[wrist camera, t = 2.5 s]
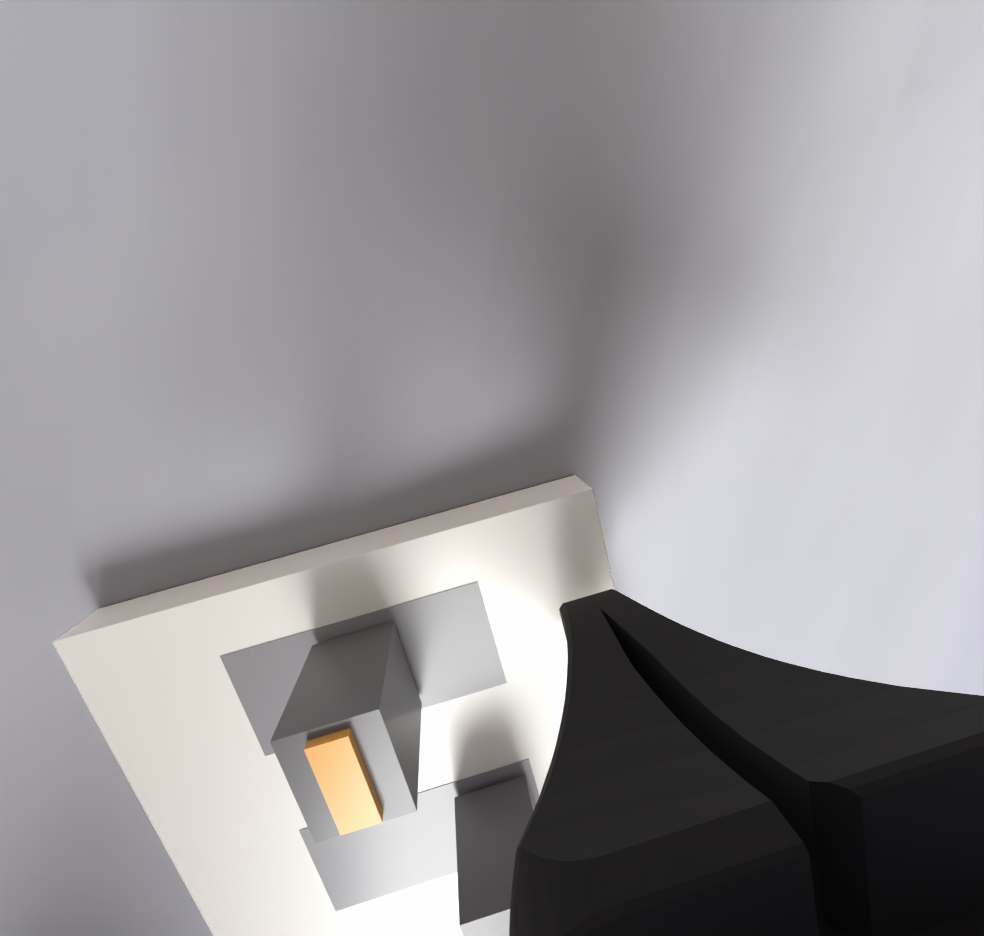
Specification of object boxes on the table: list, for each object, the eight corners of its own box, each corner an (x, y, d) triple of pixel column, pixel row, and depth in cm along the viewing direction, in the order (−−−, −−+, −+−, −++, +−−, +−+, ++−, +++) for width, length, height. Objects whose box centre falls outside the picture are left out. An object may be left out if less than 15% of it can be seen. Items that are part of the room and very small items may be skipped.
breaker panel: (317, 1038, 16) (270, 1299, 12) (97, 609, 12) (-103, 753, 8) (673, 918, 17) (759, 1121, 12) (575, 474, 13) (650, 535, 8)
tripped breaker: (344, 726, 12) (312, 853, 9) (312, 645, 11) (266, 750, 8) (421, 703, 12) (416, 821, 9) (393, 621, 12) (377, 717, 8)
